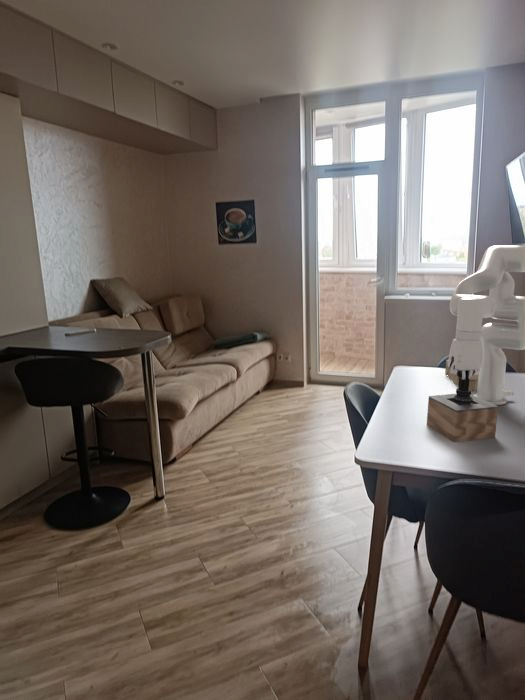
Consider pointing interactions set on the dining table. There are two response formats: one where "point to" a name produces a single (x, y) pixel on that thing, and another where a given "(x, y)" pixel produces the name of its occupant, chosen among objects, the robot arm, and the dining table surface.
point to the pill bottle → (463, 397)
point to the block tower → (455, 379)
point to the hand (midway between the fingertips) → (463, 389)
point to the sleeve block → (462, 418)
